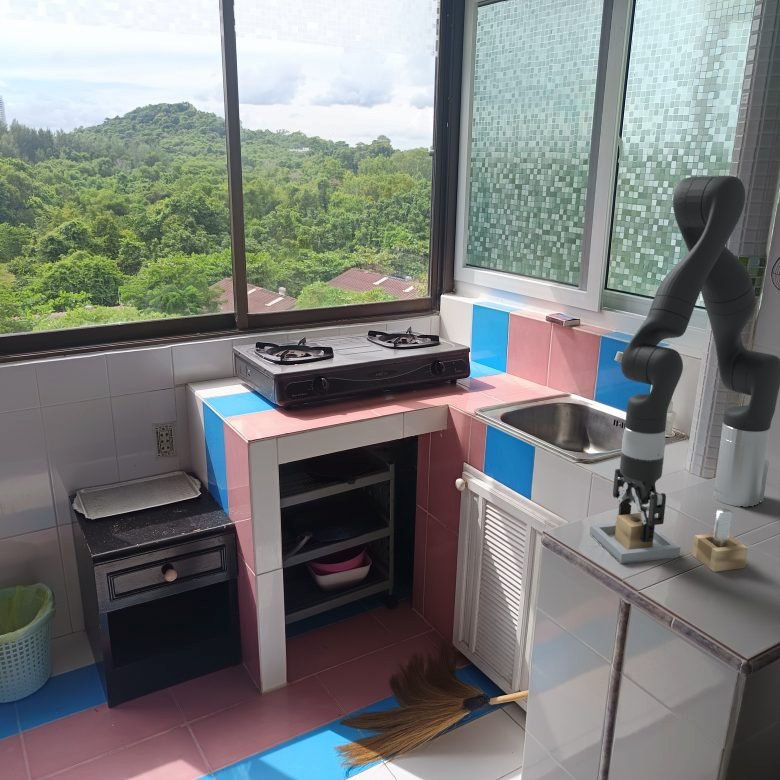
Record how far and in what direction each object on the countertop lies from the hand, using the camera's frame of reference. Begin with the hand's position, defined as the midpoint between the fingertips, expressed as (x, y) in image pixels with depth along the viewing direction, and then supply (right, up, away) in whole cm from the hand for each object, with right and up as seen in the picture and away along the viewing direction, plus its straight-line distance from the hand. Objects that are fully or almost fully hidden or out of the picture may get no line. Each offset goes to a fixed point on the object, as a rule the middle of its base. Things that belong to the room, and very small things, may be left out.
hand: (634, 531), depth 141 cm
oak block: (+14, -5, -5) cm, 15 cm away
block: (0, -2, +1) cm, 3 cm away
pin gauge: (+14, -5, -5) cm, 15 cm away
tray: (0, -3, +1) cm, 3 cm away
